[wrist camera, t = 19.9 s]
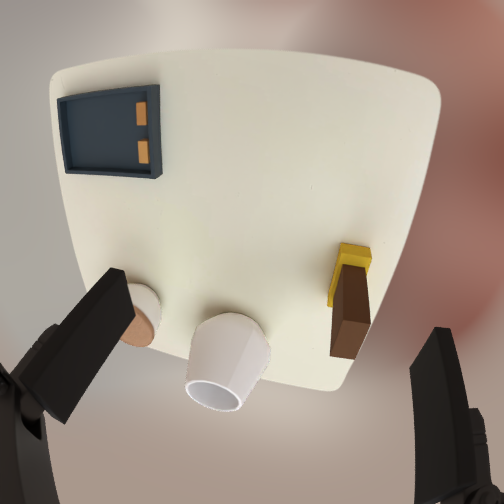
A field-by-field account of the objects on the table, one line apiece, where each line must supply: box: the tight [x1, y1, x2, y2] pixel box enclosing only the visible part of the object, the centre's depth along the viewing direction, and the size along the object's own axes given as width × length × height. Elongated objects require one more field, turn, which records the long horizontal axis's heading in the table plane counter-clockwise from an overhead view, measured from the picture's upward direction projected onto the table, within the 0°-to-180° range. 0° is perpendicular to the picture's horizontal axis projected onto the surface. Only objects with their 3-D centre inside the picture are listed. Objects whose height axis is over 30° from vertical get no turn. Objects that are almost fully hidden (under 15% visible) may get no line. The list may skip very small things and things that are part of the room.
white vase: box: [185, 312, 271, 412], centre depth 47 cm, size 13×13×14 cm
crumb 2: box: [138, 139, 150, 163], centre depth 36 cm, size 1×3×1 cm, turn 177°
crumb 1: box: [136, 101, 148, 125], centre depth 34 cm, size 1×3×1 cm, turn 177°
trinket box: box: [120, 283, 162, 347], centre depth 49 cm, size 11×11×9 cm
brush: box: [327, 243, 372, 360], centre depth 36 cm, size 9×4×12 cm, turn 177°
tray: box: [57, 85, 162, 179], centre depth 36 cm, size 17×12×2 cm
